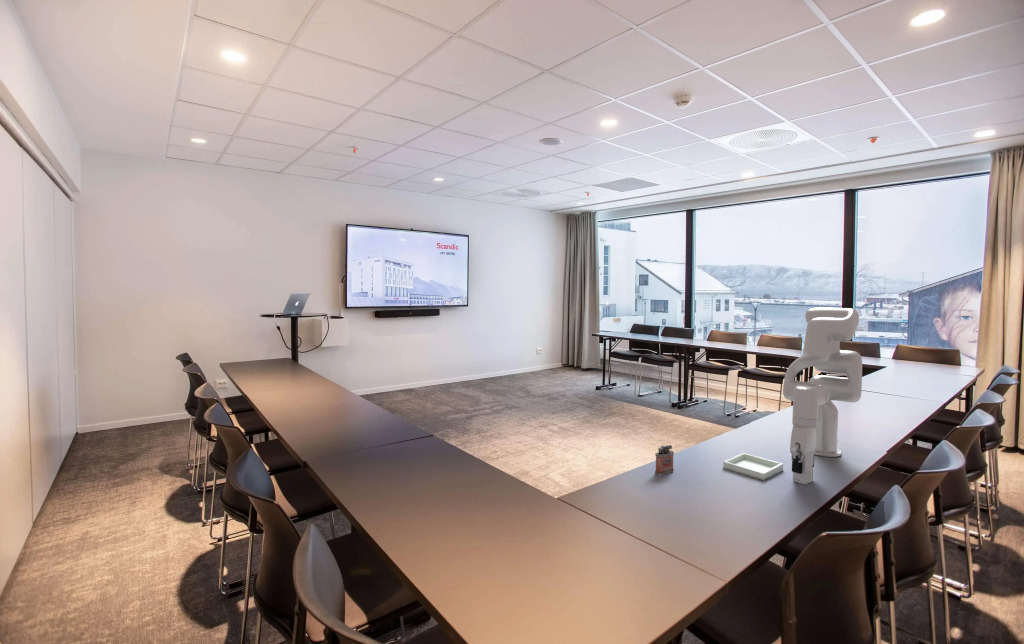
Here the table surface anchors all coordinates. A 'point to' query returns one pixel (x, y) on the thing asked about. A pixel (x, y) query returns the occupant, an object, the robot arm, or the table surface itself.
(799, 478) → the skincare box
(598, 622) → the table surface
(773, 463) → the sage tray
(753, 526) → the table surface
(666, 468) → the lighter
